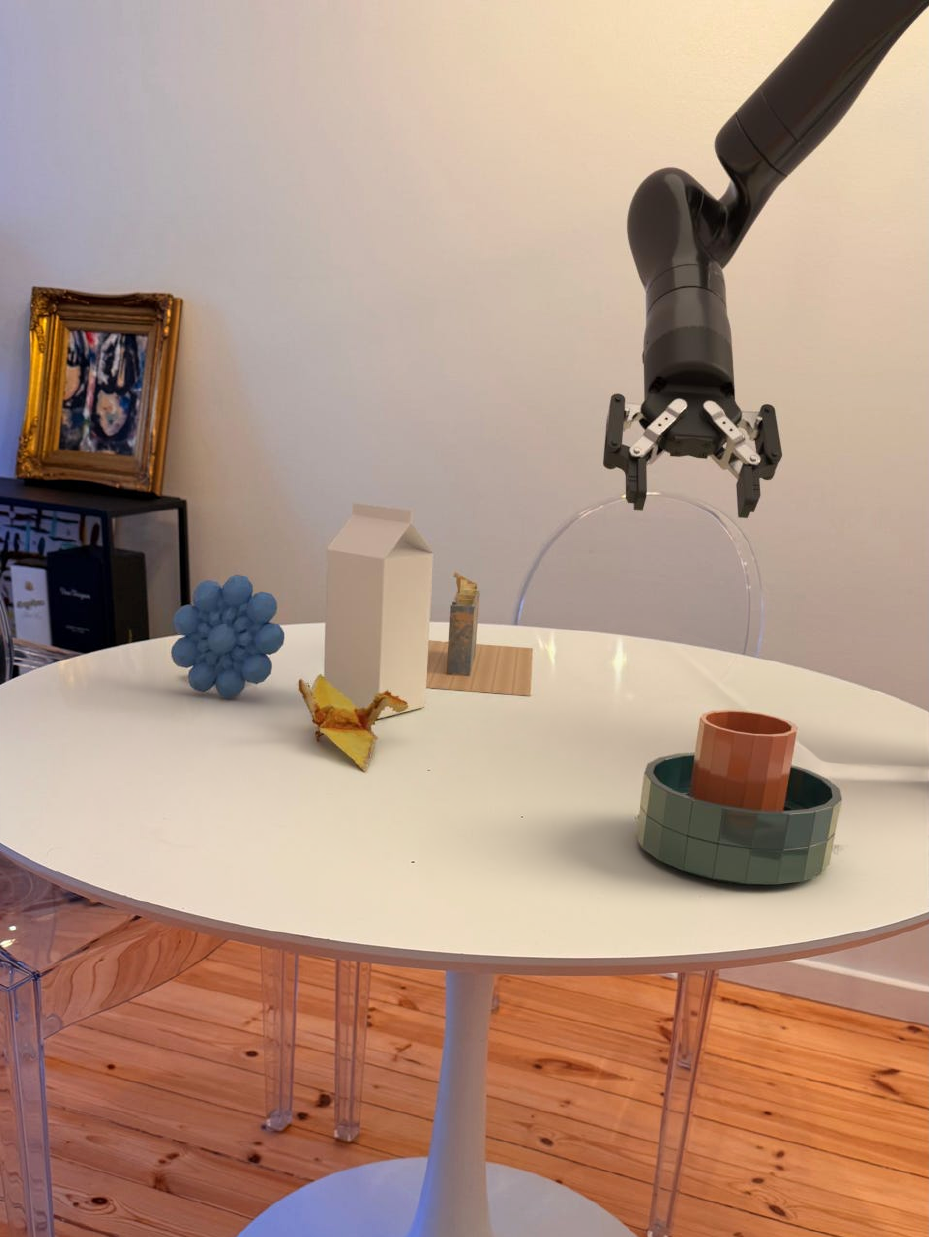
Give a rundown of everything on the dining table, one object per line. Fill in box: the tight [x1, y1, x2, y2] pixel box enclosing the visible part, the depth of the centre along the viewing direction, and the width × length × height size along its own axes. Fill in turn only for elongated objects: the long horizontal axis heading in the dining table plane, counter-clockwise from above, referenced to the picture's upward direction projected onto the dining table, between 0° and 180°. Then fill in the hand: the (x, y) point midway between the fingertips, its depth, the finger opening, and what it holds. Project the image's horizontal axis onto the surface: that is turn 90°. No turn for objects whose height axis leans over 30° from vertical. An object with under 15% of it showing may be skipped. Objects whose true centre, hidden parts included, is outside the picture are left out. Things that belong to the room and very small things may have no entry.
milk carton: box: [323, 502, 434, 720], centre depth 108 cm, size 7×7×19 cm
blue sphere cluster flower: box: [170, 574, 285, 699], centre depth 110 cm, size 12×7×12 cm, turn 76°
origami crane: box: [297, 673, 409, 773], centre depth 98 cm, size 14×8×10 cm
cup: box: [689, 709, 798, 811], centre depth 79 cm, size 6×6×9 cm
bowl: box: [635, 751, 843, 886], centre depth 80 cm, size 13×13×6 cm
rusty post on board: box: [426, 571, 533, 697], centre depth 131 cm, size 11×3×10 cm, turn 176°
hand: (693, 507), depth 92 cm, fingers open, 8 cm apart
